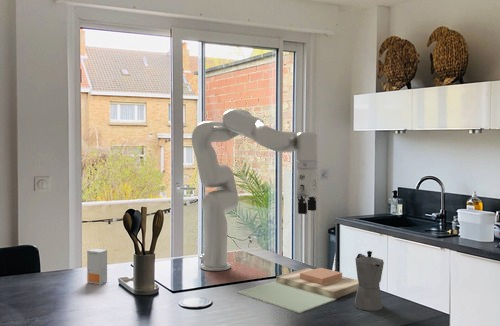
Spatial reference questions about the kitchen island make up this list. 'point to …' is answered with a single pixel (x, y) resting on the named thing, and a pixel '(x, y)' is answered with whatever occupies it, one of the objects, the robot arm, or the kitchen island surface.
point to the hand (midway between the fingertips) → (307, 212)
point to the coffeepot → (368, 282)
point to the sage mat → (287, 296)
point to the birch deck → (327, 289)
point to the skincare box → (97, 266)
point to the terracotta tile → (321, 275)
